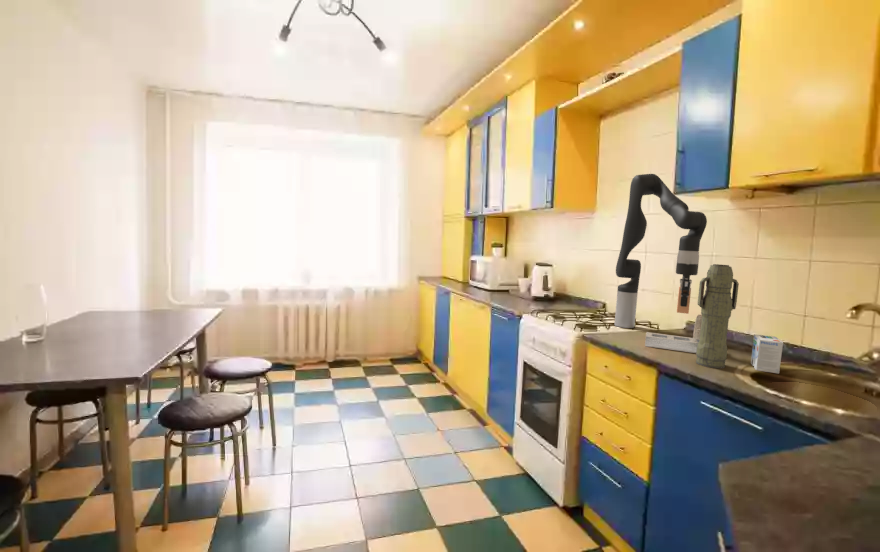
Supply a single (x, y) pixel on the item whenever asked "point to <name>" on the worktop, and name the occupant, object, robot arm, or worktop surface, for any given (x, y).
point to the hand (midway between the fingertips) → (683, 305)
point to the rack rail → (671, 342)
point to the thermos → (715, 315)
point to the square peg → (680, 308)
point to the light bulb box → (766, 353)
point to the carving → (697, 327)
